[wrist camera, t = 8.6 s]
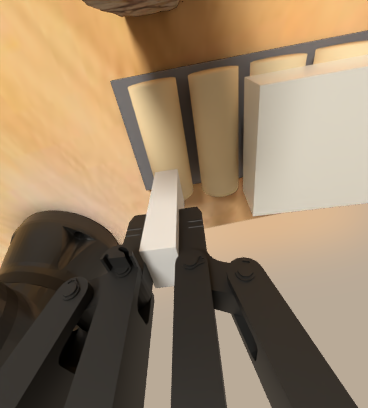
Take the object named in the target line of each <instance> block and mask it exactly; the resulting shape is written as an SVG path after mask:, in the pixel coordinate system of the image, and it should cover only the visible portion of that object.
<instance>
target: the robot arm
mask: <svg viewBox="0 0 368 408" xmlns="http://www.w3.org/2000/svg"><path fill="white" fill-rule="evenodd" d="M153 283H154V286H155V287H156V288H161V287H170V286H174V318H173V351H172V353H173V354H172V386H171V387H172V388H171V408H227V405H226V397H225V388H224V380H223V373H222V365H221V357H220V349H219V341H218V334H217V325H216V318H215V310H214V309H216V310H221V311H224V312H228V313H231V314H232V317H233V319H234V322H235V324H236V326H237V328H238V331H239V333H240V335H241V338H242V340H243V342H244V345H245V347H246V349H247V352H248V354H249V356H250V359H251V361H252V363H253V365H254V368H255V370H256V372H257V375H258V377H259V379H260V382H261V384H262V386H263V388H264V391H265V393H266V395H267V398H268V400H269V402H270V404H271V406H272V408H358V407H357V405H356V404H355V402H354V401H353V400H352V398H351V397H350V395H349V394H348V392H347V391H346V390H345V388H344V386H343V385H342V384H341V382H340V381H339V379H338V378H337V376H336V375H335V373H334V372H333V370H332V369H331V367H330V366H329V364H328V363H327V362H326V360H325V359H324V357H323V356H322V354H321V353H320V351H319V350H318V348H317V347H316V345H315V344H314V343H313V341H312V340H311V338H310V337H309V335H308V334H307V332H306V331H305V329H304V328H303V326H302V325H301V323H300V322H299V320H298V319H297V318H296V316H295V315H294V313H293V312H292V310H291V309H290V307H289V306H288V304H287V303H286V301H285V300H284V299H283V297H282V296H281V294H280V293H279V291H278V290H277V288H276V287H275V285H274V284H273V283H272V281H271V279H270V278H269V277H268V275H267V274H266V272H265V271H264V269H263V268H262V267H261V266H260V264H259V263H258V262H256V261H254V260H252V259H250V258H244V257H243V258H237V259H235V260H233V261H231V263H226V262H221V261H217V260H215V259H213V258H212V257H211V256H210V255H209V254H208V252H207V249H206V241H205V233H204V226H203V219H202V212H201V211H200V210H199V209H198V207H192V208H184V198H183V193H182V188H181V183H180V178H179V173H178V169H173V170H166V171H160V172H155V175H154V180H153V185H152V190H151V195H150V200H149V205H148V210H147V214H145V215H137V216H134V217H133V219H132V220H131V221H130V222H129V226H128V229H127V233H126V237H125V239H124V243H123V245H118V244H117V242H116V240H115V239H114V237H113V236H112V235H111V234H110V233H109V232H108V231H107V230H106V229H105V228H104V227H102V226H101V225H99V224H98V223H96V222H94V221H93V220H91V219H88V218H86V217H84V216H81V215H78V214H74V213H70V212H64V211H44V212H39V213H36V214H33V215H31V216H30V217H28V218H27V219H26V220H25V221H24V222H23V223H22V224H21V225H20V226H19V227H18V228H17V230H16V231H15V232H14V234H13V236H12V239H11V243H10V246H9V248H8V251H7V253H6V255H5V258H4V260H3V263H2V265H1V268H0V408H143V407H144V398H145V397H144V396H145V388H146V377H147V368H148V358H149V348H150V338H151V328H152V317H153V308H154V295H153V293H152V285H153Z"/></svg>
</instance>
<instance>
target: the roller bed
mask: <svg viewBox="0 0 368 408" xmlns="http://www.w3.org/2000/svg"><path fill="white" fill-rule="evenodd" d="M367 54H368V30H367V31H362V32H357V33H352V34H347V35H342V36H337V37H331V38H326V39H321V40H316V41H311V42H306V43H301V44H296V45H291V46H285V47H280V48H275V49H270V50H265V51H260V52H255V53H250V54H245V55H239V56H234V57H229V58H224V59H219V60H214V61H209V62H204V63H199V64H194V65H188V66H183V67H178V68H173V69H168V70H163V71H158V72H153V73H148V74H142V75H137V76H132V77H127V78H122V79H117V80H112V81H110V82H111V85H112V88H113V91H114V94H115V97H116V100H117V103H118V106H119V109H120V112H121V115H122V118H123V121H124V124H125V127H126V130H127V133H128V136H129V139H130V142H131V145H132V148H133V152H134V155H135V158H136V161H137V164H138V167H139V170H140V173H141V176H142V179H143V182H144V185H145V188H146V190H152V185H153V180H154V175H155V172H160V171H166V170H173V169H178V173H179V178H180V183H181V188H182V193H183V198H184V200H185V199H187V198H189V197H190V196H191V195H192V193H193V184H197V183H202V189H203V191H204V193H206V194H207V195H210V196H214V197H223V196H228V195H230V194H233V193H234V192H235V191H236V190H237V189H238V186H239V178H242V177H243V142H244V77H248V76H253V75H259V74H264V73H269V72H275V71H280V70H286V69H291V68H297V67H302V66H307V65H313V64H318V63H324V62H329V61H334V60H340V59H345V58H351V57H356V56H362V55H367Z"/></svg>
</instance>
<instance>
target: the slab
mask: <svg viewBox="0 0 368 408" xmlns="http://www.w3.org/2000/svg"><path fill="white" fill-rule="evenodd" d="M243 192H244V195H245V197H246V200H247V202H248V205H249V207H250V210H251V213H252V215H253V216H260V215H269V214H278V213H286V212H295V211H304V210H313V209H321V208H330V207H339V206H348V205H356V204H365V203H368V54H367V55H362V56H356V57H351V58H345V59H340V60H334V61H329V62H324V63H318V64H313V65H307V66H302V67H297V68H291V69H286V70H280V71H275V72H269V73H264V74H259V75H253V76H248V77H244V142H243Z"/></svg>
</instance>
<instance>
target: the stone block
mask: <svg viewBox="0 0 368 408" xmlns="http://www.w3.org/2000/svg"><path fill="white" fill-rule="evenodd" d="M82 1H84V2H85V3H86V4H87V5H88V6H91V7H93V8H96V9H100V10H101V11H105V12H109V13H113V14H116V15H118V16H121V17H123V16H134V17H136V16H140V15H146V14H153V13H156V12H159V11H170V10H171V9H173V8H176V7H177V5H178V3H179V0H82ZM182 2H183V1H182Z"/></svg>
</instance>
